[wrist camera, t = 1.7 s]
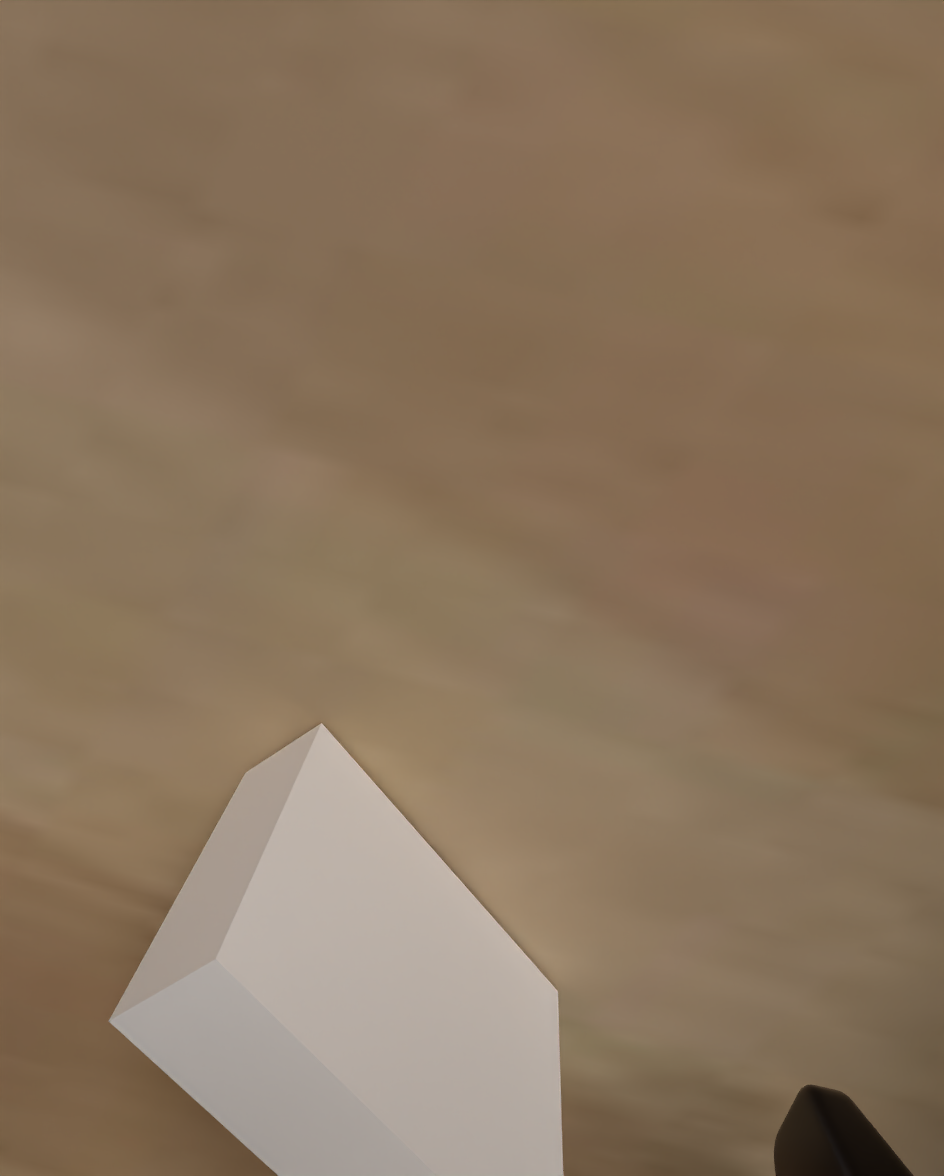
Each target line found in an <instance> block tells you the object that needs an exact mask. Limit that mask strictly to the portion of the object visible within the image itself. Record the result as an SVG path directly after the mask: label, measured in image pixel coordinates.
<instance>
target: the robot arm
mask: <svg viewBox="0 0 944 1176" xmlns="http://www.w3.org/2000/svg"><path fill="white" fill-rule="evenodd" d="M774 1163H775V1173H776V1176H913V1174H912V1173H911V1172H910V1171H909V1170H908V1168H907V1167H906V1166H905V1165H904V1163H903V1162H902V1161H901V1160H900V1158H899V1157H898V1156H897V1155H896V1154H895V1152H894V1151H893V1150H892V1149H891V1147H890V1146H889V1145H888V1144H887V1143H886V1141H885V1140H884V1139H883V1138H882V1136H881V1135H880V1134H879V1133H878V1132H877V1130H876V1129H875V1128H874V1127H873V1125H872V1124H871V1123H870V1122H869V1121H868V1119H867V1118H866V1117H865V1116H864V1114H863V1113H862V1112H861V1111H860V1110H859V1108H858V1107H857V1106H856V1105H855V1103H854V1102H853V1101H852V1100H851V1099H850V1098H849V1097H848V1096H847V1095H846V1094H844V1093H843V1092H840V1091H837V1090H833V1089H829V1088H824V1087H820V1086H816V1085H806V1086H804V1087H803V1088H801V1090H800V1091H799V1093H798V1095H797V1097H796V1099H795V1100H794V1102H793V1104H792V1106H791V1108H790V1110H789V1112H788V1114H787V1116H786V1118H785V1120H784V1122H783V1124H782V1125H781V1127H780V1129H779V1131H778V1134H777V1137H776V1140H775V1147H774Z"/></svg>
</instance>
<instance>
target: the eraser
mask: <svg viewBox="0 0 944 1176" xmlns="http://www.w3.org/2000/svg"><path fill="white" fill-rule="evenodd" d="M109 1022H110V1023H111V1024H112V1025H113V1026H114V1027H115V1028H117V1029H118V1030H119V1031H120V1032H121V1033H122V1034H123V1035H124V1036H125V1037H126V1038H128V1039H129V1040H130V1041H131V1042H132V1043H133V1044H134V1045H135V1046H136V1047H137V1048H139V1049H140V1050H141V1051H142V1052H143V1053H144V1054H145V1055H146V1056H147V1057H148V1058H150V1059H151V1060H152V1061H153V1062H154V1063H155V1064H156V1065H157V1066H158V1067H159V1068H161V1069H162V1070H163V1071H164V1072H165V1073H166V1074H167V1075H168V1076H169V1077H170V1078H171V1079H173V1080H174V1081H175V1082H176V1083H177V1084H178V1085H179V1086H180V1087H181V1088H182V1089H184V1090H185V1091H186V1092H187V1093H188V1094H189V1095H190V1096H191V1097H192V1098H193V1099H195V1100H196V1101H197V1102H198V1103H199V1104H200V1105H201V1106H202V1107H203V1108H204V1109H206V1110H207V1111H208V1112H209V1113H210V1114H211V1115H212V1116H213V1117H214V1118H215V1119H217V1120H218V1121H219V1122H220V1123H221V1124H222V1125H223V1126H224V1127H225V1128H226V1129H228V1130H229V1131H230V1132H231V1133H232V1134H233V1135H234V1136H235V1137H236V1138H237V1139H238V1140H240V1141H241V1142H242V1143H243V1144H244V1145H245V1146H246V1147H247V1148H248V1149H249V1150H251V1151H252V1152H253V1153H254V1154H255V1155H256V1156H257V1157H258V1158H259V1159H260V1160H262V1161H263V1162H264V1163H265V1164H266V1165H267V1166H268V1167H269V1168H270V1169H271V1170H273V1171H274V1172H275V1173H276V1174H277V1175H278V1176H563V1151H562V1116H561V1081H560V1045H559V1010H558V991H557V990H556V988H555V987H554V986H553V985H552V984H551V983H550V982H549V980H548V979H547V978H546V977H545V976H544V975H543V974H542V973H541V971H540V970H539V969H538V968H537V967H536V966H535V965H534V963H533V962H532V961H531V960H530V959H529V958H528V957H527V956H526V954H525V953H524V952H523V951H522V950H521V949H520V948H519V946H518V945H517V944H516V943H515V942H514V941H513V940H512V938H511V937H510V936H509V935H508V934H507V933H506V932H505V931H504V929H503V928H502V927H501V926H500V925H499V924H498V923H497V921H496V920H495V919H494V918H493V917H492V916H491V915H490V914H489V912H488V911H487V910H486V909H485V908H484V907H483V906H482V904H481V903H480V902H479V901H478V900H477V899H476V898H475V896H474V895H473V894H472V893H471V892H470V891H469V890H468V889H467V887H466V886H465V885H464V884H463V883H462V882H461V881H460V879H459V878H458V877H457V876H456V875H455V874H454V873H453V871H452V870H451V869H450V868H449V867H448V866H447V865H446V864H445V862H444V861H443V860H442V859H441V858H440V857H439V856H438V854H437V853H436V852H435V851H434V850H433V849H432V848H431V847H430V845H429V844H428V843H427V842H426V841H425V840H424V839H423V837H422V836H421V835H420V834H419V833H418V832H417V831H416V829H415V828H414V827H413V826H412V825H411V824H410V823H409V822H408V820H407V819H406V818H405V817H404V816H403V815H402V814H401V812H400V811H399V810H398V809H397V808H396V807H395V806H394V805H393V803H392V802H391V801H390V800H389V799H388V798H387V797H386V795H385V794H384V793H383V792H382V791H381V790H380V789H379V787H378V786H377V785H376V784H375V783H374V782H373V781H372V780H371V778H370V777H369V776H368V775H367V774H366V773H365V772H364V770H363V769H362V768H361V767H360V766H359V765H358V764H357V763H356V761H355V760H354V759H353V758H352V757H351V756H350V755H349V753H348V752H347V751H346V750H345V749H344V748H343V747H342V745H341V744H340V743H339V742H338V741H337V740H336V739H335V738H334V736H333V735H332V734H331V733H330V732H329V731H328V730H327V728H326V727H325V726H324V725H323V724H322V723H321V724H319V725H318V726H316V727H315V728H313V729H311V730H310V731H308V732H307V733H305V734H304V735H302V736H301V737H299V738H298V739H296V740H295V741H293V742H292V743H290V744H288V745H287V746H285V747H284V748H282V749H281V750H279V751H278V752H276V753H275V754H273V755H272V756H270V757H269V758H267V759H265V760H264V761H262V762H261V763H259V764H258V765H256V766H255V767H253V768H252V769H250V770H249V771H247V772H246V773H245V774H244V776H243V778H242V780H241V782H240V783H239V785H238V787H237V789H236V791H235V792H234V794H233V796H232V798H231V800H230V802H229V803H228V805H227V807H226V809H225V811H224V812H223V814H222V816H221V818H220V820H219V822H218V823H217V825H216V827H215V829H214V831H213V832H212V834H211V836H210V838H209V840H208V841H207V843H206V845H205V847H204V849H203V851H202V852H201V854H200V856H199V858H198V860H197V861H196V863H195V865H194V867H193V869H192V871H191V872H190V874H189V876H188V878H187V880H186V881H185V883H184V885H183V887H182V889H181V890H180V892H179V894H178V896H177V898H176V900H175V901H174V903H173V905H172V907H171V909H170V910H169V912H168V914H167V916H166V918H165V920H164V921H163V923H162V925H161V927H160V929H159V930H158V932H157V934H156V936H155V938H154V939H153V941H152V943H151V945H150V947H149V949H148V950H147V952H146V954H145V956H144V958H143V959H142V961H141V963H140V965H139V967H138V969H137V970H136V972H135V974H134V976H133V978H132V979H131V981H130V983H129V985H128V987H127V988H126V990H125V992H124V994H123V996H122V998H121V999H120V1001H119V1003H118V1005H117V1007H116V1008H115V1010H114V1012H113V1014H112V1016H111V1018H110V1019H109Z"/></svg>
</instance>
